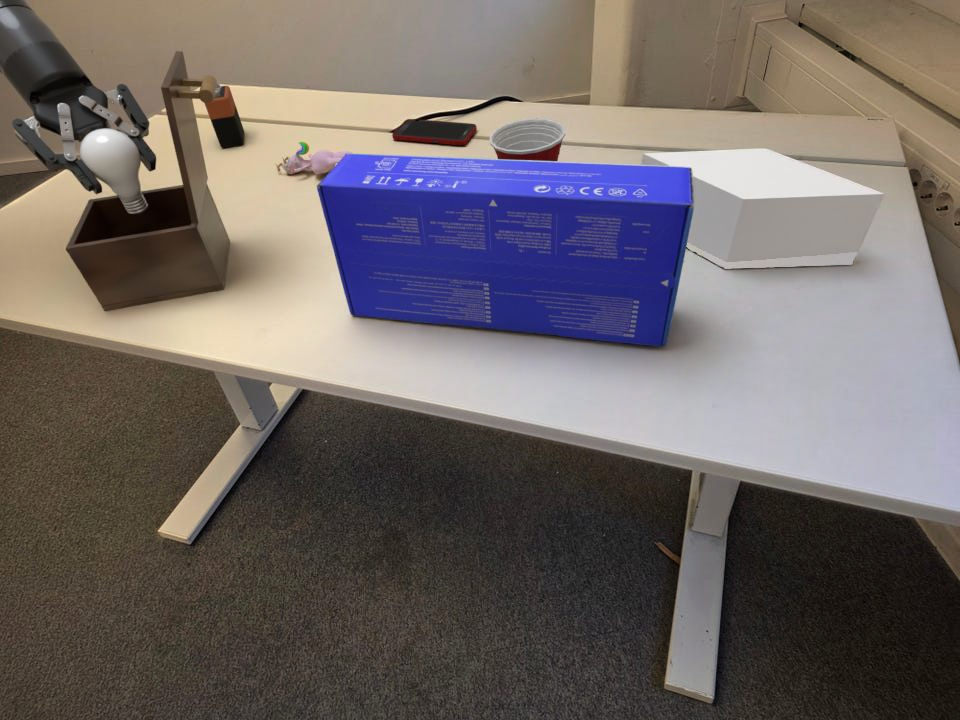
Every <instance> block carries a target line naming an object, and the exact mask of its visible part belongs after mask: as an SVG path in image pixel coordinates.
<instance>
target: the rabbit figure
mask: <svg viewBox="0 0 960 720" xmlns="http://www.w3.org/2000/svg"><path fill="white" fill-rule="evenodd" d="M298 144H299V145H300V146H301V147H299V148H298V149H297V150H296V152H295V154H294V155H293V156H292V157H290V156H286V157H285V158H284V157H281V158H282V162H283V163H282V162H280V163H279V164H277V163H275V165H276V166H275V167H276V170H277V174H280V173H281V167H282V169H283V170H284V171H285V172H286V173H287V174H289V175H295V174H297V173H300V172H301V171H309V170H310V169H311V170H312V172H313V174H315V175H324V174H326V175H327V173H330V171H331V170H332V169H333V168H334V167H335V166H336V165H337V164H338V162H339V161H340V160H341V159H342V158H343V157H344V156H345V154H346V153H347V154H354V153H353V152H351V151H348V150H340V151H336V152H333V151H330V150H327V149H324V150H323V149H321V150H318V151H316V152H314V153H313V155H312V154H311V153H310V154H308V153H309V151H310V146H309V145H308V142H306V141H299V142H298ZM306 154H308V158H310V159H304V158H303V157H302V156H304V155H306Z"/></svg>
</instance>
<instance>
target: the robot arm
mask: <svg viewBox="0 0 960 720" xmlns="http://www.w3.org/2000/svg"><path fill="white" fill-rule="evenodd" d="M0 74H1V75H2V76H4V77H5V79H7V81H8V82H9V83H10V85H11V87H13V89H14V90H15V91H16V92H17V93H18V95H19V96H20V97H21V99H23V101H24V103H25V104H26V105H27V106H28V107H29V109H30V110H31V111H32V113H33V115H32V116H31V117H29V118H27V119H24V120H23V119H21V118H15V119H13V120H12V121H11V124H12V127H13V131H14V135H15V136H16V138H17V139H18V140H19V141H20V142H21V143H22V144H23V145H24V146H25V147H26V148H27V149H28V150H29V151H30V152H31V153H32V154H33V155H34V156H35V157H36V158H37V160H39V162H40V163H41V164H42V165H44V167H46V169H47V170H48V171H50V172H52V173H55V172H58V171H59V170H67V171H69V172H71V174H72V175H73V176H74V177H75V178H76V180H77V181H78V182H79V183H80V185H81V186H82V187H83V188H84V190H86V191H87V192H93V193H94V194H95V195H99V194H101V193H103V186H102V183H101V181H100V180H99V179H97V178H96V177H95V176H94V175H93V174H92V172H91V171H90V170H89V168H88V167H87V166H86V165H85V163H84V162H83V161H82V160H81V158H80V159H79V158H78V157H77V151H76V144H75V143H76V142H75V141H78V143H81V142H82V140H83V139H84V137H85V136H86V135H87V134H89V133H90V132H92V131H94V130H97V129H103V128H108V129H114V130H117V131H120V132H122V133H124V134H125V135H127V136H128V137H129V138H130V139H131V140H132V141H133V142H134V143H135V145H136V146H137V148H138V150H139V153H140V157H141V163H142V165H144V167H145V168H146V170H147V171H148V172H153V171H156V170H157V169H156V166H157V155H156V153H155V152H154V151H153V150H152V148H151V147H150V146H149V145H148V143H147V142H146V141H145V139H144V138H145V137H148V136H149V135H150V120H149V119H148V118H147V116H146V114H145V113H144V111H143V110H142V107H141V106H140V105H139V103H138V101H137V100H136V98H135V97H134V95H133V94H132V92H131V90H130V89H129V87H128V85H126V84H123V83H119V84H117V86H116V89H112V90H108V91H103V90H102V89H100V88H98V87H96V86H95V84H93V82H92V81H91V79H90V77H88V75H87V74H86V73H85V72H84V70H83V69H82V67H81V66H80V65H79V63H78V62H77V61H76V60H75V58H74V57H73V56H72V54H71V53H70V52H69V51H68V49H67V48H66V47H65V46H64V45H63V42H61V40H60V39H59V38H58V37H57V35H56V34H55V32H54V31H53V30H52V29H51V28H50V26H48V24H46V22H45V21H43V20H42V19H41V18H40V16H39V15H38V14H37V13H36V11H35V10H34V9H33V8H32V6H31V5H30V3H28V1H27V0H0ZM109 104H113V105H115V106H116V108H118V109H119V110H123V111H124V112H125V114H126V116H127V117H128V119H129V121H130V122H131V123H132V124H130V123H128V122H127V121H125V120H124V119H122V117H121V116H120V115H118V114H116V113H115V112H113V111H111V110H109ZM39 128H42V129H43V130H46V131H49V132H51V133H54V134H56V135H58V136H60V137H61V142H62V143H61V144H62V149H63V153H55V152H54V150H52V149H51V148H50V146H48V145H47V143H45V141H44V140H43V139H42V138H41V132H40V130H39Z"/></svg>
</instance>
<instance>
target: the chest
mask: <svg viewBox="0 0 960 720" xmlns="http://www.w3.org/2000/svg"><path fill="white" fill-rule="evenodd" d="M141 191H142V194H143V196H144V198H145V200H146V202H147V203H148V208H147V209H146V210H145V211H144V212H143V213H142V214H130V213H128V212H127V210H126V209H125V207H124V204H123V203H122V201H121V199H120V198H119V196H118V195H117V194H114V195H110V196H105V197H97V198H90V199H88V201H87V203H86V205H85V207H84V209H83V212H82V214H81V215H80V217H79V219H78V221H77V224H76V225H75V227H74V231H73V233H72V235H70V239H69V241H68V243H67V244H66V247H65V251H66V252H67V254H68V255H69V257H70V259H71V260H72V262H73V263H74V265H75V266H76V268H77V270H78V272H79V273H80V275H81V277H83V279H84V280H85V283H86V284H87V285H88V287H89V289H90V290H91V292H92V293H93V294H94V297H95V298H96V300H97V302H98V303H99V304H100V306H101V308H102V309H103V311H104V312H107V311H112V310H117V309H123V308H128V307H133V306H140V305H144V304H150V303H155V302H156V303H157V302H163V301H167V300H172V299H177V298H184V297H189V296H194V295H200V294H205V293H211V292H216V291H223V290H225V285H226V278H227V277H226V276H227V269H228V260H229V252H230V245H231V239H230V237H229V234H228V232H227V230H226V226H225V225H224V222H223V219H222V217H221V215H220V212H219V210H218V207H217V205H216V202H215V200H214V197H213V194H212V192H211V189H210V187H209V185H208V183H207V184H206V189H205V194H204V199H203V204H202V209H201V214H200V219H199V223H198V224H192V222H191V217H190V213H189V209H188V204H187V200H186V195H185V191H184V187H183V184H179V185H172V186H165V187H161V188H160V187H159V188H154V189H148V190H141Z"/></svg>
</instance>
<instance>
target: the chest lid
mask: <svg viewBox="0 0 960 720" xmlns="http://www.w3.org/2000/svg"><path fill="white" fill-rule="evenodd" d="M187 70H188V69H187V66H186V61H185V56H184V52H183V50H182V51H180V50H179V51H178V50H175V53H174V55H173V57H172V59H171V62H170V65H169V67H168V69H167V72H166V74H165V76H164V78H163V81H162V83H161V86H160V91H161V95H162V99H163V103H164V107H165V112H166V117H167V122H168V125H169V129H170V134H171V138H172V143H173V147H174V151H175V156H176V161H177V164H178V169H179V173H180V177H181V182H182V185H183V187H184V191H185V195H186V200H187V204H188V209H189V213H190V217H191V222H192V224H198V223H199V219H200V214H201V209H202V204H203V199H204V194H205V189H206V184H207V185H208V179H209V177H208V171H207V165H206V162H205V156H204V152H203V147H202V142H201V135H200V131H199V126H198V121H197V116H196V110H195V106H194V101H193V100H200V101H201V103H204V104H205V103H207V104H208V103H211V102H212V101H213V100H214V95H215V91H216V87H217V84H218V81H217V79H216V78H215V76H213V75H211V74H207V75H204V76H203V78H189V76H188V71H187ZM191 87H192V88H193V87H194V88H195V87H196V88H199V90H191Z"/></svg>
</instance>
